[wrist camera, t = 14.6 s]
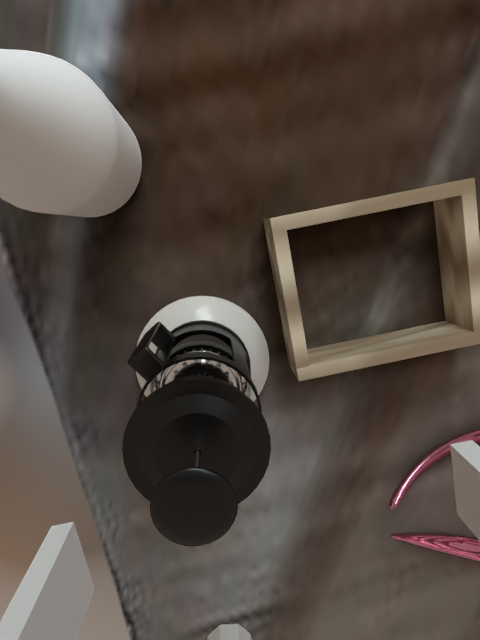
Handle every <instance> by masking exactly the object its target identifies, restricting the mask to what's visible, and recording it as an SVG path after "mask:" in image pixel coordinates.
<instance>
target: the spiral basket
mask: <svg viewBox="0 0 480 640" xmlns="http://www.w3.org/2000/svg"><path fill="white" fill-rule="evenodd" d="M470 440H473V441H474V442H475V443H476V444H480V429H478V430H474V431H471V432H468V433H465V434H462V435H460V436H457V437H455V438H453V439H451V440H449V441H447V442H445V443H443V444H441V445H440V446H438V447H436V448H435V449H433V450H432V451H431V452H429V453H428V454H427V455H425V456H424V457H423V458H422V459H421V460H419V461H418V462H417V463H416V464H415V465H414V466H413V467H412V468H411V469H410V471H409V472H408V473H407V474H406V475H405V477H404V478H403V479H402V481H401V482H400V483H399V485H398V487H397V488H396V490H395V492H394V493H393V495H392V497H391V500H390V503H389V508H390V509H391V510H392V509H394V508H396V506H397V505H398V504H399V502H400V501H401V499H402V498H403V496H404V494H405V493H406V491H407V490H408V488H409V487H410V486H411V485H412V483H413V482H414V481H415V480H416V479H417V478H418V477H419V476H420V475H421V474H422V473H423V472H424V471H425V470H426V469H427V468H429V467H430V466H431V465H433V464H434V463H436V462H437V461H439V460H440V459H442V458H444V457H445V456H447V455H449V454H451V447H450V444H455V443H460V442H465V441H470ZM391 538H392V539H394V540H397V541H400V542H404V543H408V544H412V545H416V546H420V547H424V548H428V549H432V550H436V551H440V552H444V553H448V554H452V555H456V556H460V557H464V558H468V559H472V560H476V561H480V541H479V540H478V538H471V537H464V536H457V535H448V534H438V533H422V532H403V533H394V534H392V535H391Z"/></svg>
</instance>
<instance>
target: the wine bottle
mask: <svg viewBox="0 0 480 640" xmlns="http://www.w3.org/2000/svg"><path fill="white" fill-rule="evenodd" d="M141 168H142V160H141V152H140V148H139V144H138V142H137V139H136V137H135V135H134V133H133V131H132V130H131V128H130V127H129V125H128V124H127V123H126V121H125V120H124V119H123V118H122V116H121V115H120V114H119V113H118V111H117V110H116V109H115V108H114V106H113V105H112V104H111V102H110V101H109V100H108V99H107V97H106V96H105V95H104V94H103V92H102V91H101V90H100V89H99V87H98V86H97V85H96V84H95V83H94V82H93V81H92V80H91V79H90V78H89V77H88V76H87V75H86V74H84V73H83V72H82V71H81V70H80V69H78V68H77V67H75V66H73V65H71V64H70V63H68V62H66V61H64V60H62V59H59V58H57V57H54V56H51V55H47V54H43V53H38V52H33V51H27V50H7V49H0V198H1V199H3V200H5V201H6V202H8V203H10V204H12V205H14V206H16V207H19V208H22V209H25V210H28V211H31V212H38V213H46V214H56V215H67V216H77V217H99V216H103V215H107V214H109V213H112V212H114V211H116V210H117V209H119V208H120V207H122V206H123V205H124V204H125V203H126V202H127V201H128V200H129V199H130V197H131V196H132V195H133V193H134V192H135V190H136V187H137V185H138V183H139V179H140V176H141Z"/></svg>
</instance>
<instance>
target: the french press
mask: <svg viewBox="0 0 480 640" xmlns="http://www.w3.org/2000/svg"><path fill="white" fill-rule="evenodd" d="M202 334H204V335H211V336H214V337H217V338H219V339H221V340H222V341H224V342H225V343H226V344H227V345H228V346H229V347H230V348H231V350H229V349H228V348H226V347H224V346H222V345H219V344H216V343H213V342H206V341H195V342H189V343H185V344H182V345H180V346H178V347H176V348H174V347H175V346H176V345H177V344H178V343H179V342H180V341H182V340H183V339H185V338H187V337H190V336H194V335H202ZM151 342H152V343H153V344H154V345H155V346H156V347H157V350H156V353H155V354H154V353H153V352H152V351H151V350H150V348H149V345H150V343H151ZM173 348H174V349H173ZM128 364H129V365H130V366H131V367H132V368H133V369H134V370H135V371H136V372H137V373H138V374H139V375H140V376H141V377H142V378H144V379H145V380H146V383H145V385H144V387H143V389H142V391H141V393H140V396H139V399H138V402H137V407H136V409H135V411H134V413H133V414H132V416H131V418H130V419H129V421H128V424H127V427H126V430H125V433H124V438H123V448H122V451H123V459H124V465H125V467H126V470H127V473H128V476H129V478H130V479H131V481H132V483H133V484H134V486H135V488H136V489H137V490H138V491H139V492H140V493H141V494H142V495H143V496H144V497H145V498H146V499H147V500H149V501H150V513H151V517H152V520H153V523H154V525H155V526H156V528H157V530H158V531H159V532H160V533H161V534H162V535H163V536H164V537H166V538H167V539H168V540H170V541H172V542H174V543H177V544H180V545H184V546H202V545H205V544H209V543H211V542H213V541H216V540H217V539H219V538H220V537H222V536H223V535H224V534H225V533H226V532H227V531H228V530H229V529H230V527H231V526H232V524H233V522H234V520H235V518H236V515H237V509H238V504H239V503H240V502H241V501H243V500H244V499H246V498H247V497H248V496H249V495H250V494H251V493H252V492H253V491H254V490H255V489H256V488H257V486H258V484H259V483H260V481H261V480H262V478H263V477H264V474H265V472H266V469H267V467H268V464H269V458H270V452H271V445H270V435H269V431H268V427H267V424H266V421H265V419H264V417H263V415H262V411H261V404H260V400H259V396H258V393H257V389H256V387H255V385H254V383H253V381H252V379H251V364H250V357H249V354H248V350H247V348H246V346H245V344H244V342H243V341H242V340H241V339H240V337H239V336H238V335H237V334H236V333H235V332H234V331H232V330H231V329H230V328H228V327H226V326H224V325H223V324H220V323H217V322H214V321H206V320H198V321H191V322H187V323H184V324H182V325H180V326H178V327H176V328H174V329H173V330H172V331H169V330H168V329H167V328H166V327H165V326H164V325H163V324H162V323H161V322H157V323H156V324H155V325H154V326H153V327H151V328H150V329H149V330H148V331H147V332H146V333H145V334H144V336H143V338H142V339H141V341H140V342H139V344H138V346H137V347H136V349H135V350H134V352H133V353H132V355H131V357H130V358H129V360H128ZM149 384H150V395H149V396H147V397H146V398H145V399H144V400H143V401H142V397H143V394H144V392H145V390H146V388H147V386H148V385H149ZM251 388H252V390H253V392H254V394H255V396H256V399H257V406H256V405H255V403H254V402H253V401H252V400H251V399H250V396H251Z"/></svg>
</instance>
